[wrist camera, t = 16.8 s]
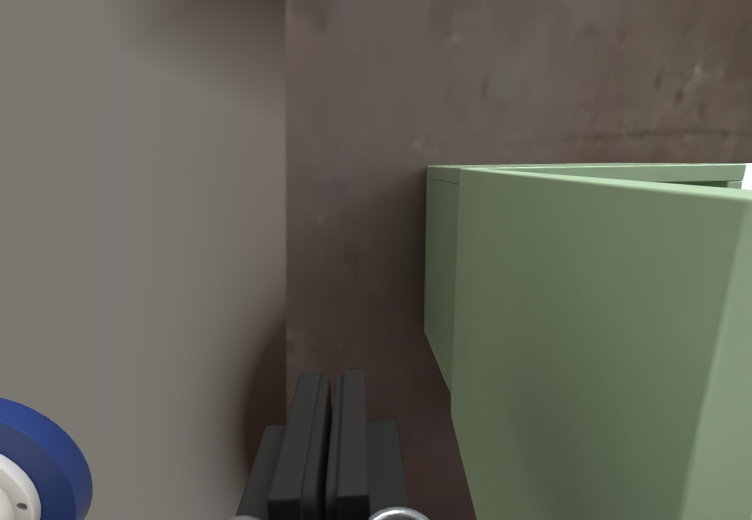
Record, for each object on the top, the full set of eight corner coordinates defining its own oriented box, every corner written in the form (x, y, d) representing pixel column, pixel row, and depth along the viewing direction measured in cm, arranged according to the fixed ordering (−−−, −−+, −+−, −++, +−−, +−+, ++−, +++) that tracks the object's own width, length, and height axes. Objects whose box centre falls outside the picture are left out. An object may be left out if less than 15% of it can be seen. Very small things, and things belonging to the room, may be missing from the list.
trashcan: (614, 163, 28) (747, 163, 18) (592, 325, 31) (697, 397, 22) (426, 165, 27) (466, 168, 18) (423, 331, 30) (455, 408, 21)
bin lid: (845, 197, 3) (750, 197, 3) (631, 956, 6) (583, 953, 7) (477, 168, 17) (459, 168, 17) (465, 413, 20) (450, 413, 20)
